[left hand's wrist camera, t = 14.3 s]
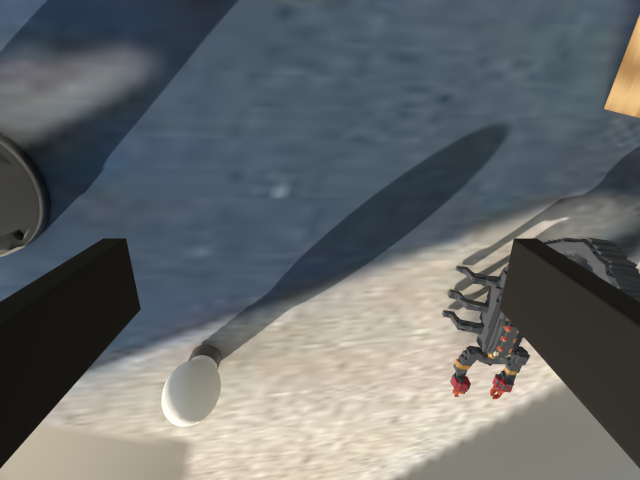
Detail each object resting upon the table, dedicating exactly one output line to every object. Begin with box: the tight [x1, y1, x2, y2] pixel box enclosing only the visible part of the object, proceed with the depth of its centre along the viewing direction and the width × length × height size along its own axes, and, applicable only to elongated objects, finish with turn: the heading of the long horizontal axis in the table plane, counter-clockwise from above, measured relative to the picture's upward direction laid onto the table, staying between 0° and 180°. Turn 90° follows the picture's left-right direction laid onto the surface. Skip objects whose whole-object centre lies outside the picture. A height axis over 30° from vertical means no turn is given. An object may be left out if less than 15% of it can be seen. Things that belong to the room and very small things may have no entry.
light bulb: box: [162, 345, 221, 426], centre depth 46 cm, size 7×7×11 cm
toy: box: [442, 238, 640, 399], centre depth 39 cm, size 13×27×18 cm, turn 172°
